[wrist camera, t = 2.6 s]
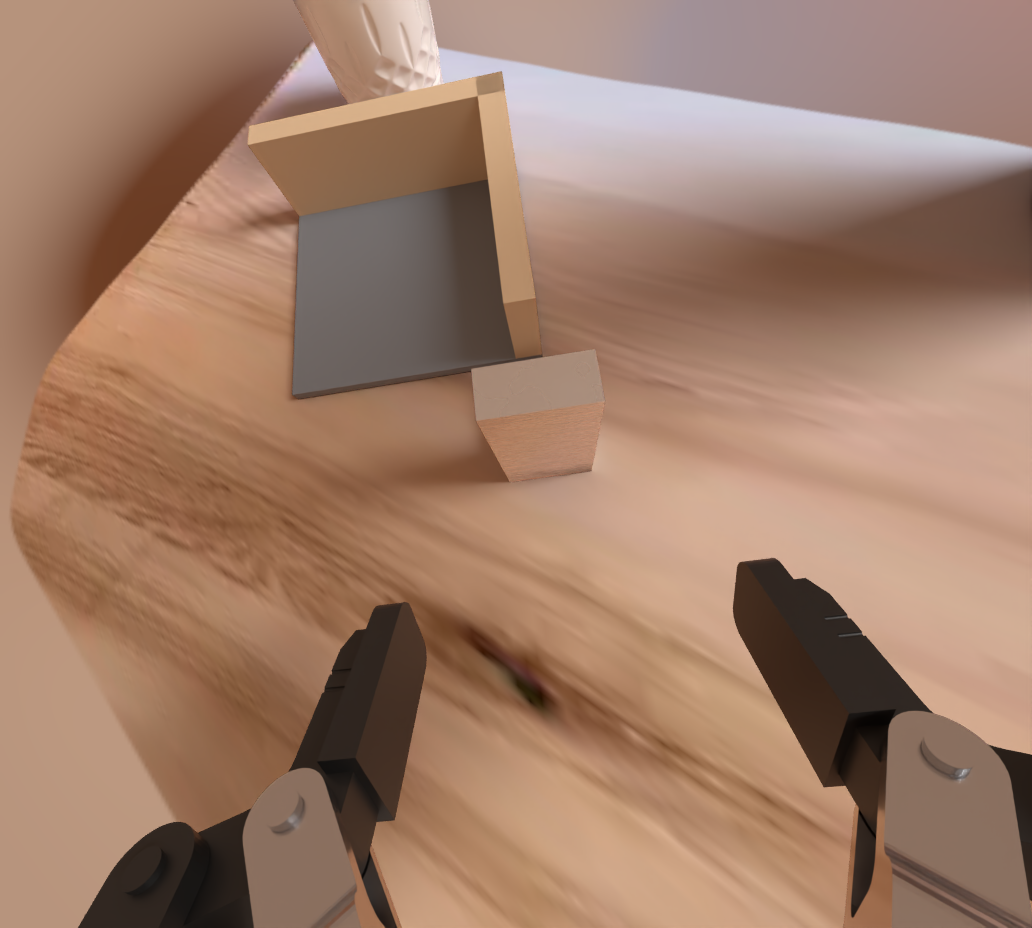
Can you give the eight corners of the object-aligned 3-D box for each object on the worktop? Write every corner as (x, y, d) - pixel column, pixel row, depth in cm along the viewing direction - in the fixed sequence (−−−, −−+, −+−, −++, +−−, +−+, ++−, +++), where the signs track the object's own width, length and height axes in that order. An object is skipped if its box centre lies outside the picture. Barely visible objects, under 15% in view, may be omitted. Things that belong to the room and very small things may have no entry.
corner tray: (513, 165, 29) (501, 71, 24) (542, 359, 25) (535, 298, 20) (304, 206, 31) (249, 125, 25) (298, 399, 26) (229, 350, 21)
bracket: (574, 370, 25) (577, 255, 16) (591, 470, 23) (605, 401, 14) (498, 382, 25) (462, 275, 16) (510, 482, 23) (476, 420, 15)
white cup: (362, 169, 31) (271, -18, 21) (345, 96, 33) (255, -102, 24) (467, 134, 31) (421, -71, 21) (442, 63, 33) (391, -150, 24)
